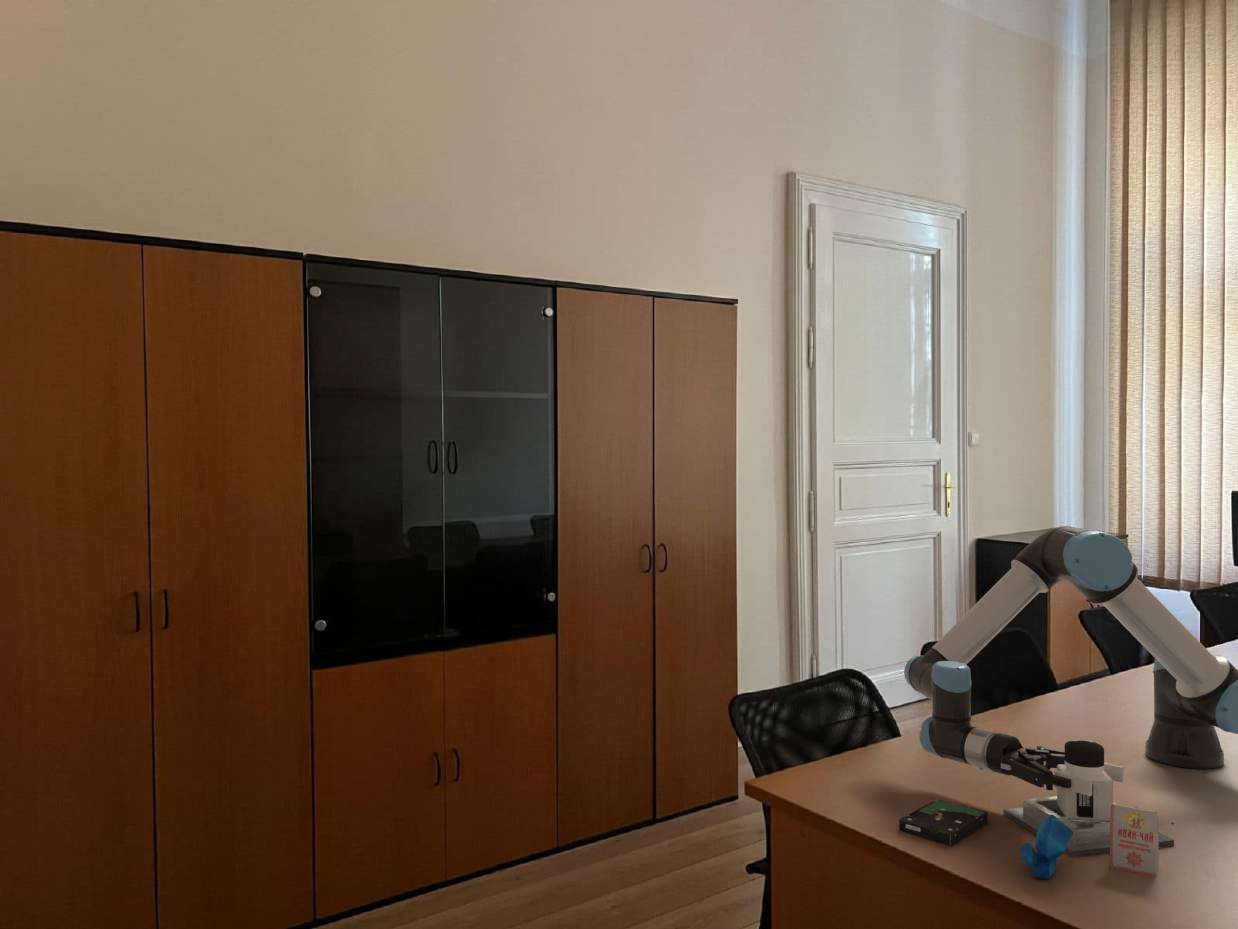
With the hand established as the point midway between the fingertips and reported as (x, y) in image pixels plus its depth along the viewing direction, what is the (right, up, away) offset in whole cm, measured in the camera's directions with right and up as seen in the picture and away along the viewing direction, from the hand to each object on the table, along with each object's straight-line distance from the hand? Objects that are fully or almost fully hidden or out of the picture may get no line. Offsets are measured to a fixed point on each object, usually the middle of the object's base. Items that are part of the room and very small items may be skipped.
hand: (1107, 781), depth 175 cm
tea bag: (-2, -10, -13) cm, 17 cm away
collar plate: (-2, -10, +3) cm, 11 cm away
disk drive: (-27, -11, +6) cm, 30 cm away
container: (-2, -7, +3) cm, 8 cm away
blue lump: (-17, -11, -14) cm, 24 cm away
